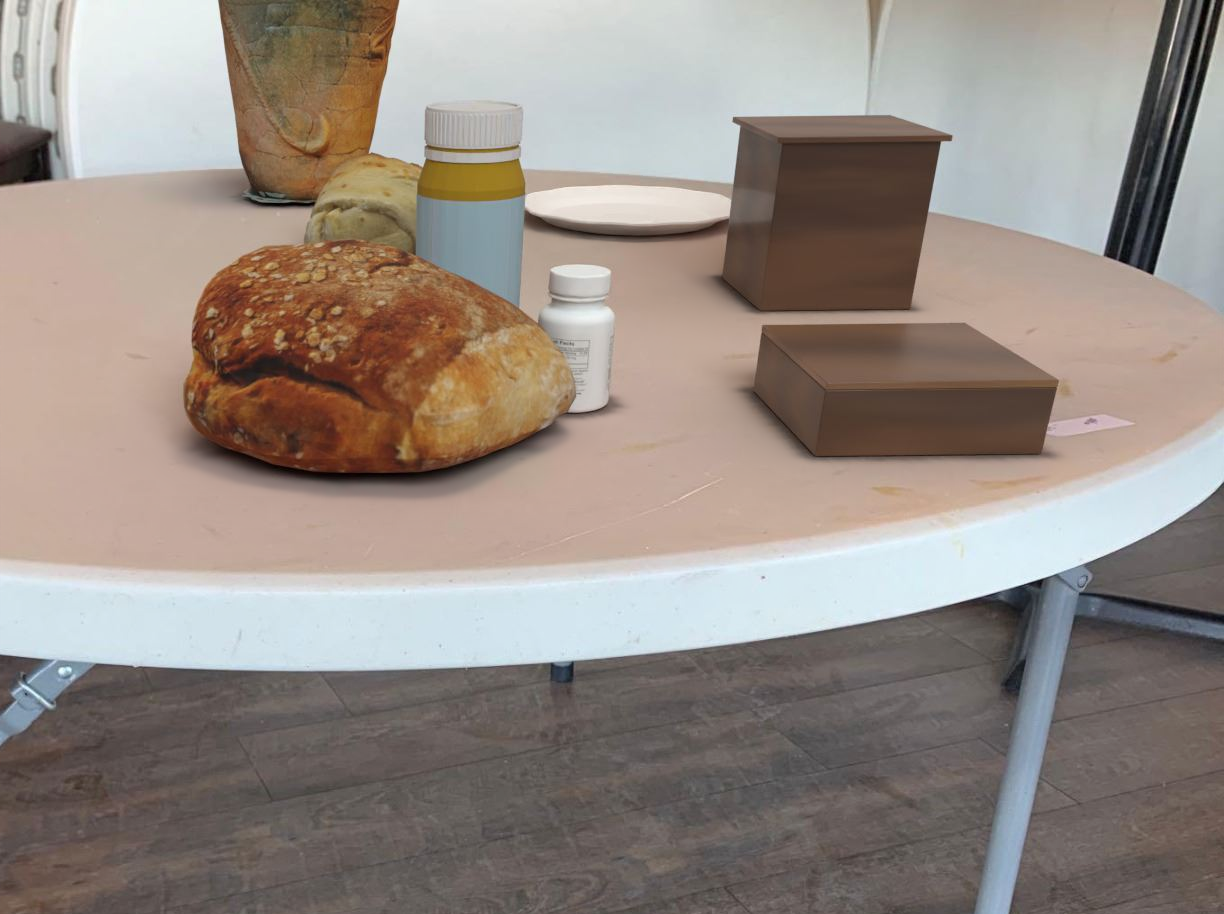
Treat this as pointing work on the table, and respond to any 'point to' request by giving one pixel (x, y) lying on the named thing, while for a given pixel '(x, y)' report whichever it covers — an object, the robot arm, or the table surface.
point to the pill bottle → (582, 329)
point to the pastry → (368, 203)
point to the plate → (628, 209)
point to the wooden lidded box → (902, 390)
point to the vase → (304, 87)
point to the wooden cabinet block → (829, 211)
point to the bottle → (473, 193)
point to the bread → (366, 362)
